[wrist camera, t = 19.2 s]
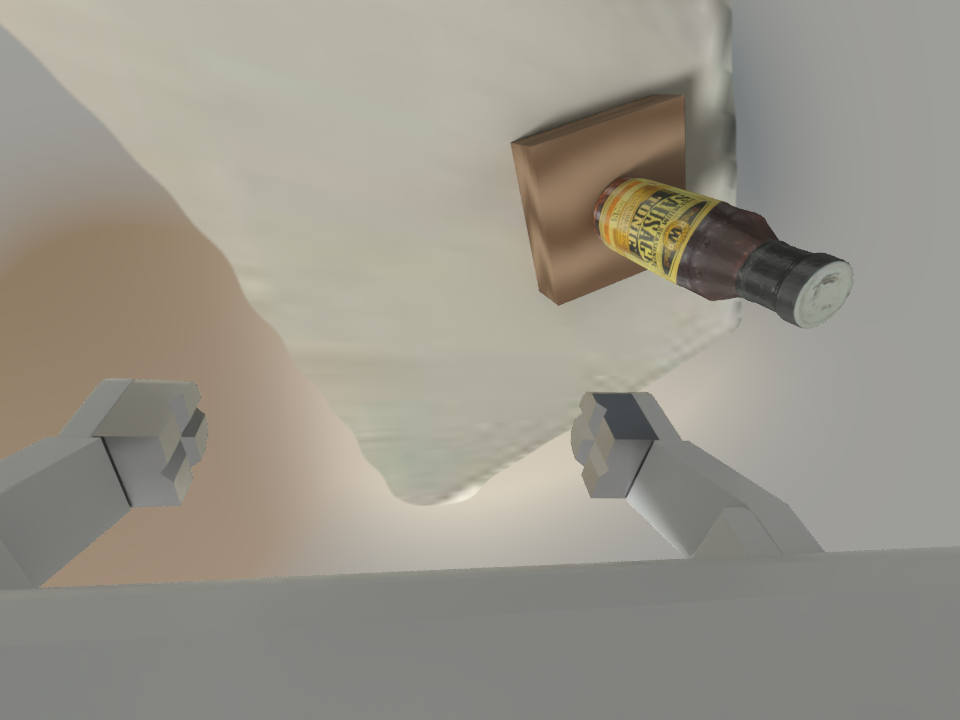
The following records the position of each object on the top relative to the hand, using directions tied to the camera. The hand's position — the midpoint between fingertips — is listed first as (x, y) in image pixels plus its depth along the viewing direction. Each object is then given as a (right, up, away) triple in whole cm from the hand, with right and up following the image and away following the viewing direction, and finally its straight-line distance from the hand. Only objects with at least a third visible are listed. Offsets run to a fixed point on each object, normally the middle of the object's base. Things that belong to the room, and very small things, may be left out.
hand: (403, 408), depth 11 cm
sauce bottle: (+14, +14, +32) cm, 38 cm away
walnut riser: (+12, +16, +35) cm, 40 cm away
